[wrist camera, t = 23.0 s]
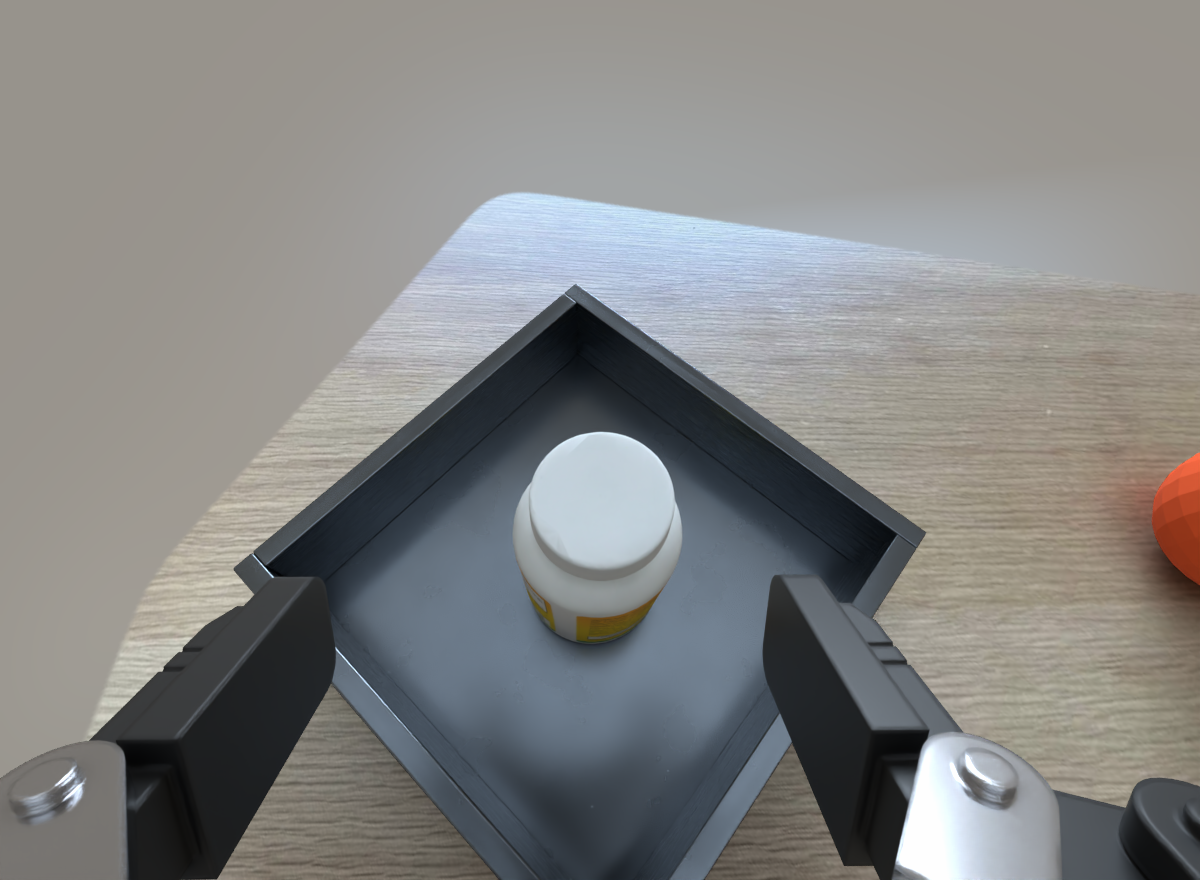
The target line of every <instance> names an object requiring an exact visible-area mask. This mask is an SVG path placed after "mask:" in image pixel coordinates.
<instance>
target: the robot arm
mask: <svg viewBox="0 0 1200 880" xmlns="http://www.w3.org/2000/svg"><path fill="white" fill-rule="evenodd" d="M762 655H763V667H764V673H765V677H766V681H767V683H768V686H769V688H770V691H771V693H772V696H773V698H774V700H775V703H776V705H777V708H778V710H779V712H780V715H781V717H782V719H783V722H784V724H785V727H786V729H787V731H788V734H789V736H790V738H791V741H792V743H793V746H794V748H795V750H796V753H797V755H798V757H799V760H800V762H801V765H802V767H803V769H804V772H805V774H806V777H807V779H808V781H809V784H810V786H811V788H812V791H813V793H814V796H815V798H816V800H817V803H818V805H819V807H820V810H821V812H822V815H823V817H824V819H825V822H826V824H827V826H828V829H829V831H830V834H831V836H832V838H833V841H834V843H835V845H836V848H837V850H838V853H839V855H840V857H841V860H842V862H843V865H844V866H874V868H875V870H876V872H877V874H878V876H879V878H880V880H1200V787H1199V786H1197V785H1193V784H1190V783H1187V782H1183V781H1179V780H1174V779H1167V778H1149V779H1145V780H1142V781H1141V782H1139V783H1137V785H1136V786H1135V787H1134V789H1133V791H1132V794H1131V796H1130V799H1129V801H1128V804H1127V806H1126V808H1124V807H1120V806H1116V805H1112V804H1108V803H1104V802H1100V801H1096V800H1092V799H1088V798H1084V797H1080V796H1076V795H1072V794H1067V793H1063V792H1059V791H1055V790H1052V789H1051V787H1050V786H1049V784H1048V783H1047V782H1046V780H1045V779H1044V778H1043V777H1042V776H1041V774H1039V773H1038V772H1037V771H1036V770H1035V769H1034V768H1033V767H1032V766H1031V765H1030V764H1029V763H1027V762H1026V761H1025V760H1024V759H1022V758H1021V757H1019V756H1018V755H1016V754H1015V753H1013V752H1012V751H1010V750H1008V749H1007V748H1005V747H1003V746H1001V745H999V744H997V743H995V742H993V741H990V740H988V739H985V738H982V737H979V736H975V735H972V734H967V733H963V731H962V730H961V729H960V728H959V726H958V725H957V724H956V722H955V721H954V720H953V719H952V717H951V716H950V715H949V714H948V712H947V711H946V710H945V708H944V707H943V706H942V705H941V703H940V702H939V701H938V699H937V698H936V697H935V696H934V694H933V693H932V692H931V691H930V689H929V688H928V687H927V685H926V684H925V683H924V682H923V680H922V679H921V678H920V677H919V675H918V674H917V673H916V671H915V670H914V669H913V668H912V666H911V665H907V660H906V659H905V657H904V656H903V655H902V654H901V652H900V651H899V650H898V648H897V647H893V642H892V641H891V640H890V638H889V637H888V636H887V634H886V633H885V632H884V631H883V629H882V628H881V627H880V625H879V624H878V623H877V622H876V621H875V620H874V619H873V618H871V617H870V616H868V615H867V614H865V613H864V612H863V611H861V610H860V609H858V608H857V607H855V606H854V605H853V604H851V603H839V602H838V601H837V600H836V598H835V597H834V595H833V594H832V593H831V591H830V590H829V588H828V587H827V586H826V584H825V583H824V581H823V580H822V579H821V578H820V577H819V576H818V575H775V576H773V578H772V580H771V584H770V590H769V598H768V606H767V615H766V623H765V631H764V639H763V650H762ZM335 664H336V648H335V642H334V635H333V629H332V623H331V616H330V610H329V604H328V597H327V591H326V586H325V584H324V582H323V580H322V579H321V578H319V577H273V578H271V579H270V580H268V581H267V582H266V583H265V584H264V585H263V587H262V588H261V589H260V590H259V591H258V592H257V593H256V594H255V595H254V596H253V597H252V598H251V599H250V600H249V601H248V602H247V603H246V604H245V605H244V606H237V607H235V608H234V609H232V610H230V611H229V612H227V613H225V614H224V615H222V616H220V617H219V618H217V619H215V620H214V621H212V622H210V623H209V624H207V625H205V626H204V627H203V628H202V629H201V630H200V631H199V632H198V633H197V634H196V635H195V636H194V637H193V638H192V639H191V640H190V641H189V642H188V643H187V644H186V645H185V646H184V647H183V651H182V652H178V653H177V654H176V655H175V656H174V657H173V658H172V659H171V660H170V661H169V662H168V663H167V664H166V665H165V666H164V670H163V672H158V673H157V674H156V675H155V676H154V677H153V678H152V679H151V680H150V681H149V682H148V683H147V684H146V685H145V686H144V687H143V688H142V689H141V690H140V691H139V692H138V693H137V694H136V695H135V696H134V697H133V698H132V699H131V700H130V701H129V702H128V703H127V704H126V705H125V706H124V707H123V708H122V709H121V710H120V711H119V712H118V713H117V714H116V715H114V716H113V717H112V718H111V719H110V720H109V721H108V722H107V723H106V724H105V725H104V726H103V727H102V728H101V729H100V730H99V731H98V732H97V733H96V734H95V735H94V736H93V737H92V738H91V739H90V740H89V741H84V742H78V743H74V744H70V745H66V746H63V747H60V748H57V749H54V750H51V751H49V752H46V753H44V754H42V755H40V756H37V757H35V758H33V759H31V760H29V761H27V762H25V763H23V764H22V765H20V766H18V767H17V768H15V769H13V770H12V771H10V772H9V773H7V774H6V775H5V776H3V777H1V778H0V880H206V879H217V878H218V877H219V875H220V873H221V872H222V870H223V868H224V866H225V865H226V863H227V861H228V860H229V858H230V856H231V854H232V853H233V851H234V849H235V848H236V846H237V844H238V843H239V841H240V839H241V837H242V836H243V834H244V832H245V831H246V829H247V827H248V825H249V824H250V822H251V820H252V819H253V817H254V815H255V813H256V812H257V810H258V808H259V807H260V805H261V803H262V801H263V800H264V798H265V796H266V795H267V793H268V791H269V790H270V788H271V786H272V784H273V783H274V781H275V779H276V778H277V776H278V774H279V772H280V771H281V769H282V767H283V766H284V764H285V762H286V760H287V759H288V757H289V755H290V754H291V752H292V750H293V748H294V747H295V745H296V743H297V742H298V740H299V738H300V737H301V735H302V733H303V731H304V730H305V728H306V726H307V725H308V723H309V721H310V719H311V718H312V716H313V714H314V713H315V711H316V709H317V707H318V706H319V704H320V702H321V701H322V699H323V697H324V695H325V694H326V692H327V690H328V688H329V686H330V684H331V682H332V679H333V675H334V671H335Z"/></svg>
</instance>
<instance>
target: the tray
mask: <svg viewBox="0 0 1200 880" xmlns="http://www.w3.org/2000/svg"><path fill="white" fill-rule="evenodd" d="M593 432H609V433H616V434H620V435H624V436H627V437H630V438H632V439H634V440H636V441H638V442H640V443H642V444H643V445H645V446H646V447H647V448H648V449H650V450H651V451H652V452H653V453H654V454H655V455H656V456H657V457H658V458H659V459H660V461H661V462H662V463H663V465H664V466H665V468H666V469H667V471H668V473H669V476H670V478H671V481H672V485H673V489H674V496H675V502H676V504H677V507H678V510H679V514H680V518H681V524H682V546H681V551H680V556H679V559H678V562H677V565H676V567H675V569H674V572H673V574H672V575H671V577H670V579H669V580H668V582H667V584H666V585H665V587H664V588H663V590H662V591H661V593H660V594H659V596H658V597H657V599H656V601H655V602H654V604H653V606H652V607H651V609H650V610H649V612H648V613H647V615H646V616H645V618H644V619H643V620H642V621H641V622H640V623H639V624H638V625H637V626H636V627H635V628H634V629H633V630H631V631H630V632H628V633H627V634H625V635H623V636H621V637H619V638H617V639H614V640H611V641H608V642H604V643H597V644H585V643H579V642H574V641H571V640H568V639H566V638H564V637H562V636H560V635H558V634H556V633H555V632H553V631H552V630H551V629H550V628H549V627H548V626H547V625H546V624H545V623H544V622H543V621H542V620H541V619H540V617H539V616H538V614H537V613H536V611H535V609H534V607H533V605H532V603H531V600H530V598H529V595H528V593H527V589H526V586H525V584H524V581H523V578H522V574H521V571H520V569H519V566H518V563H517V560H516V556H515V551H514V545H513V524H514V517H515V513H516V509H517V507H518V504H519V502H520V499H521V497H522V495H523V493H524V492H525V490H526V488H527V487H528V486H529V484H530V483H531V482H532V479H533V476H534V474H535V472H536V470H537V468H538V466H539V465H540V463H541V462H542V461H543V459H544V458H545V457H546V456H547V455H548V454H549V453H550V452H551V451H552V450H553V449H554V448H555V447H557V446H558V445H559V444H561V443H562V442H564V441H566V440H568V439H570V438H573V437H575V436H578V435H582V434H587V433H593ZM925 534H926V532H925V531H923V530H922V529H921V528H919V527H918V526H916V525H915V524H914V523H912V522H911V521H909V520H908V519H907V518H905V517H904V516H902V515H901V514H900V513H898V512H897V511H895V510H894V509H892V508H891V507H890V506H888V505H887V504H885V503H884V502H883V501H881V500H880V499H878V498H877V497H876V496H874V495H873V494H871V493H870V492H869V491H867V490H866V489H864V488H863V487H862V486H860V485H859V484H857V483H856V482H855V481H853V480H852V479H850V478H849V477H847V476H846V475H845V474H843V473H842V472H840V471H839V470H838V469H836V468H835V467H833V466H832V465H831V464H829V463H828V462H826V461H825V460H824V459H822V458H821V457H819V456H818V455H817V454H815V453H814V452H812V451H811V450H809V449H808V448H807V447H805V446H804V445H802V444H801V443H800V442H798V441H797V440H795V439H794V438H793V437H791V436H790V435H788V434H787V433H786V432H784V431H783V430H781V429H780V428H779V427H777V426H776V425H774V424H773V423H772V422H770V421H769V420H767V419H766V418H764V417H763V416H762V415H760V414H759V413H757V412H756V411H755V410H753V409H752V408H750V407H749V406H748V405H746V404H745V403H743V402H742V401H741V400H739V399H738V398H736V397H735V396H734V395H732V394H731V393H729V392H728V391H726V390H725V389H724V388H722V387H721V386H719V385H718V384H717V383H715V382H714V381H712V380H711V379H710V378H708V377H707V376H705V375H704V374H703V373H701V372H700V371H698V370H697V369H696V368H694V367H693V366H691V365H690V364H688V363H687V362H686V361H684V360H683V359H681V358H680V357H679V356H677V355H676V354H674V353H673V352H672V351H670V350H669V349H667V348H666V347H665V346H663V345H662V344H660V343H659V342H658V341H656V340H655V339H653V338H652V337H651V336H649V335H648V334H646V333H645V332H643V331H642V330H641V329H639V328H638V327H636V326H635V325H634V324H632V323H631V322H629V321H628V320H627V319H625V318H624V317H622V316H621V315H620V314H618V313H617V312H615V311H614V310H613V309H611V308H610V307H608V306H607V305H605V304H604V303H603V302H601V301H600V300H598V299H597V298H596V297H594V296H593V295H591V294H590V293H589V292H587V291H586V290H584V289H583V288H582V287H580V286H579V285H577V284H575V285H574V286H572V287H571V288H570V289H569V290H568V291H566V292H565V294H563V295H562V296H561V297H559V298H558V299H557V300H556V301H555V302H553V303H552V304H551V305H550V306H548V307H547V308H546V309H545V310H544V311H542V312H541V313H540V314H539V315H538V316H536V317H535V318H534V319H533V320H532V321H530V322H529V323H528V324H527V325H526V326H524V327H523V328H522V329H521V330H520V331H518V332H517V333H516V334H515V335H514V336H512V337H511V338H510V339H509V340H508V341H506V342H505V343H504V344H503V345H501V346H500V347H499V348H498V349H497V350H495V351H494V352H493V353H492V354H491V355H489V356H488V357H487V358H486V359H485V360H483V361H482V362H481V363H480V364H479V365H477V366H476V367H475V368H474V369H473V370H471V371H470V372H469V373H468V374H467V375H465V376H464V377H463V378H462V379H461V380H459V381H458V382H457V383H456V384H454V385H453V386H452V387H451V388H450V389H448V390H447V391H446V392H445V393H444V394H442V395H441V396H440V397H439V398H438V399H436V400H435V401H434V402H433V403H432V404H430V405H429V406H428V407H427V408H426V409H424V410H423V411H422V412H421V413H420V414H418V415H417V416H416V417H415V418H414V419H412V420H411V421H410V422H409V423H407V424H406V425H405V426H404V427H403V428H401V429H400V430H399V431H398V432H397V433H395V434H394V435H393V436H392V437H391V438H389V439H388V440H387V441H386V442H385V443H383V444H382V445H381V446H380V447H379V448H377V449H376V450H375V451H374V452H373V453H371V454H370V455H369V456H368V457H367V458H365V459H364V460H363V461H362V462H360V463H359V464H358V465H357V466H356V467H354V468H353V469H352V470H351V471H350V472H348V473H347V474H346V475H345V476H344V477H342V478H341V479H340V480H339V481H338V482H336V483H335V484H334V485H333V486H332V487H330V488H329V489H328V490H327V491H326V492H324V493H323V494H322V495H321V496H319V497H318V498H317V499H316V500H315V501H313V502H312V503H311V504H310V505H309V506H307V507H306V508H305V509H304V510H303V511H301V512H300V513H299V514H298V515H297V516H295V517H294V518H293V519H292V520H291V521H289V522H288V523H287V524H286V525H285V526H283V527H282V528H281V529H280V530H279V531H277V532H276V533H275V534H274V535H272V536H271V537H270V538H269V539H268V540H266V541H265V542H264V543H263V544H262V545H260V546H259V547H258V548H257V549H256V550H254V554H253V553H252V554H250V555H249V556H248V557H246V558H245V559H244V560H243V561H242V562H240V563H239V564H238V565H237V566H236V567H234V571H235V572H236V574H237V575H238V576H239V577H240V578H241V579H242V581H243V582H244V583H245V584H246V585H247V586H248V588H249V589H250V590H251V591H252V592H253V593H254V595H255V594H256V593H257V592H258V591H259V590H260V589H261V588H262V587H263V585H264V584H265V583H266V582H267V581H268V580H270V579H271V578H273V577H319V578H321V579H322V580H323V582H324V584H325V586H326V591H327V597H328V604H329V610H330V616H331V623H332V629H333V635H334V642H335V648H336V664H335V671H334V675H333V679H332V682H331V684H332V685H333V687H334V688H335V689H336V690H337V691H338V692H339V694H340V695H341V696H342V697H343V698H344V699H345V701H346V702H347V703H348V704H349V705H350V706H351V708H352V709H353V710H354V711H355V712H356V713H357V715H358V716H359V717H360V718H361V719H362V720H363V722H364V723H365V724H366V725H367V726H368V727H369V729H370V730H371V731H372V732H373V733H374V734H375V736H376V737H377V738H378V739H379V740H380V741H381V743H382V744H383V745H384V746H385V747H386V748H387V750H388V751H389V752H390V753H391V754H392V755H393V757H394V758H395V759H396V760H397V761H398V762H399V764H400V765H401V766H402V767H403V768H404V769H405V771H406V772H407V773H408V774H409V775H410V776H411V778H412V779H413V780H414V781H415V782H416V783H417V785H418V786H419V787H420V788H421V789H422V790H423V792H424V793H425V794H426V795H427V796H428V797H429V799H430V800H431V801H432V802H433V803H434V804H435V805H436V807H437V808H438V809H439V810H440V811H441V812H442V814H443V815H444V816H445V817H446V818H447V819H448V821H449V822H450V823H451V824H452V825H453V826H454V828H455V829H456V830H457V831H458V832H459V833H460V835H461V836H462V837H463V838H464V839H465V840H466V842H467V843H468V844H469V845H470V846H471V847H472V849H473V850H474V851H475V852H476V853H477V854H478V856H479V857H480V858H481V859H482V860H483V861H484V863H485V864H486V865H487V866H488V867H489V868H490V870H491V871H492V872H493V873H494V874H495V875H496V877H497V878H498V879H499V880H705V878H706V877H707V875H708V874H709V872H710V871H711V869H712V867H713V866H714V864H715V863H716V861H717V860H718V858H719V857H720V855H721V853H722V852H723V850H724V849H725V847H726V846H727V844H728V842H729V841H730V839H731V838H732V836H733V835H734V833H735V831H736V830H737V828H738V827H739V825H740V824H741V822H742V821H743V819H744V817H745V816H746V814H747V813H748V811H749V810H750V808H751V806H752V805H753V803H754V802H755V800H756V799H757V797H758V796H759V794H760V792H761V791H762V789H763V788H764V786H765V785H766V783H767V781H768V780H769V778H770V777H771V775H772V774H773V772H774V771H775V769H776V767H777V766H778V764H779V763H780V761H781V760H782V758H783V756H784V755H785V753H786V752H787V750H788V749H789V747H790V746H791V744H792V741H791V738H790V736H789V734H788V731H787V729H786V727H785V724H784V722H783V719H782V717H781V715H780V712H779V710H778V708H777V705H776V703H775V700H774V698H773V696H772V693H771V691H770V688H769V686H768V683H767V681H766V677H765V673H764V667H763V655H762V650H763V639H764V631H765V623H766V615H767V606H768V598H769V590H770V584H771V580H772V578H773V576H775V575H818V576H819V577H820V578H821V579H822V580H823V581H824V583H825V584H826V586H827V587H828V588H829V590H830V591H831V593H832V594H833V595H834V597H835V598H836V600H837V601H838V602H839V603H851V604H853V605H854V606H855V607H857V608H858V609H860V610H861V611H863V612H864V613H865V614H867V615H868V616H870V617H871V618H872V617H873V616H874V614H875V613H876V611H877V610H878V608H879V606H880V605H881V603H882V602H883V600H884V599H885V597H886V595H887V594H888V592H889V591H890V589H891V588H892V586H893V585H894V583H895V581H896V580H897V578H898V577H899V575H900V574H901V572H902V570H903V569H904V567H905V566H906V564H907V563H908V561H909V560H910V558H911V556H912V555H913V553H914V552H915V550H916V548H917V547H918V545H919V544H920V542H921V541H922V539H923V538H924V536H925Z"/></svg>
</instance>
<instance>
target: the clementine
mask: <svg viewBox="0 0 1200 880" xmlns="http://www.w3.org/2000/svg"><path fill="white" fill-rule="evenodd" d="M1152 525H1153V530H1154V534H1155V537H1156V539H1157V541H1158V543H1159V545H1160V547H1161V549H1162V551H1163V552H1164V553H1165V555H1166V556H1167V557H1168V559H1169V560H1170V561H1171V562H1172V564H1173V565H1174V566H1175V567H1177V568H1178V569H1179V570H1180V571H1181V572H1182V573H1183V574H1184V575H1185V576H1186V577H1188V578H1189V579H1191V580H1192V581H1194V582H1195V583H1197V584H1199V585H1200V453H1198V454H1196V455H1195V456H1193V457H1191V458H1190V459H1188V460H1187V461H1185V462H1184V463H1182V464H1180V465H1179V466H1178V467H1177V468H1176V469H1175V470H1173V471H1172V472H1171V473H1170V474H1169V475H1168V476H1167V478H1166V479H1165V480H1164V482H1163V483H1162V485H1161V486H1160V487H1159V489H1158V492H1157V494H1156V496H1155V498H1154V504H1153V514H1152Z"/></svg>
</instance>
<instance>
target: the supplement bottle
mask: <svg viewBox="0 0 1200 880" xmlns="http://www.w3.org/2000/svg"><path fill="white" fill-rule="evenodd" d="M513 545H514V551H515V556H516V560H517V563H518V566H519V569H520V571H521V574H522V578H523V581H524V584H525V586H526V589H527V593H528V595H529V598H530V600H531V603H532V605H533V607H534V609H535V611H536V613H537V614H538V616H539V617H540V619H541V620H542V621H543V622H544V623H545V624H546V625H547V626H548V627H549V628H550V629H551V630H552V631H553V632H555V633H556V634H558V635H560V636H562V637H564V638H566V639H568V640H571V641H574V642H579V643H585V644H597V643H604V642H608V641H611V640H614V639H617V638H619V637H621V636H623V635H625V634H627V633H628V632H630V631H631V630H633V629H634V628H635V627H636V626H637V625H638V624H639V623H640V622H641V621H642V620H643V619H644V618H645V616H646V615H647V613H648V612H649V610H650V609H651V607H652V606H653V604H654V602H655V601H656V599H657V597H658V596H659V594H660V593H661V591H662V590H663V588H664V587H665V585H666V584H667V582H668V580H669V579H670V577H671V575H672V574H673V572H674V569H675V567H676V565H677V562H678V559H679V556H680V551H681V546H682V524H681V518H680V514H679V510H678V507H677V504H676V502H675V496H674V489H673V485H672V481H671V478H670V476H669V473H668V471H667V469H666V468H665V466H664V465H663V463H662V462H661V461H660V459H659V458H658V457H657V456H656V455H655V454H654V453H653V452H652V451H651V450H650V449H648V448H647V447H646V446H645V445H643V444H642V443H640V442H638V441H636V440H634V439H632V438H630V437H627V436H624V435H620V434H616V433H609V432H593V433H587V434H582V435H578V436H575V437H573V438H570V439H568V440H566V441H564V442H562V443H561V444H559V445H558V446H557V447H555V448H554V449H553V450H552V451H551V452H550V453H549V454H548V455H547V456H546V457H545V458H544V459H543V461H542V462H541V463H540V465H539V466H538V468H537V470H536V472H535V474H534V476H533V479H532V482H531V483H530V484H529V486H528V487H527V488H526V490H525V492H524V493H523V495H522V497H521V499H520V502H519V504H518V507H517V509H516V513H515V517H514V524H513Z"/></svg>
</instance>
